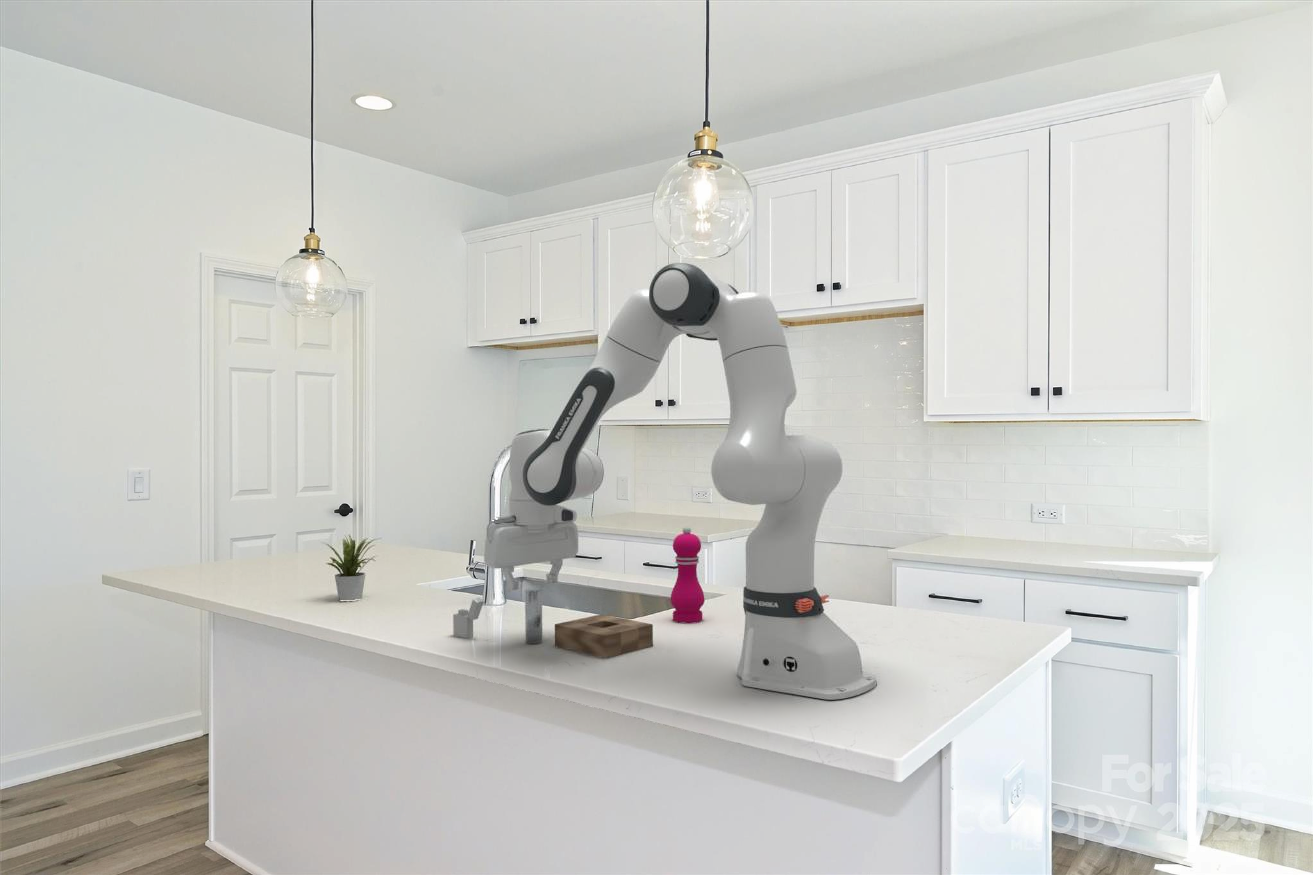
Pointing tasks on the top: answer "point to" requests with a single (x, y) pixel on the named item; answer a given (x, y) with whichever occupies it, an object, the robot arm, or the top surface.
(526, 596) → the steel peg
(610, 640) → the walnut hole block
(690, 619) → the pepper mill
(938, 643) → the top surface
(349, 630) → the top surface
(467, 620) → the lighter
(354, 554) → the house plant
